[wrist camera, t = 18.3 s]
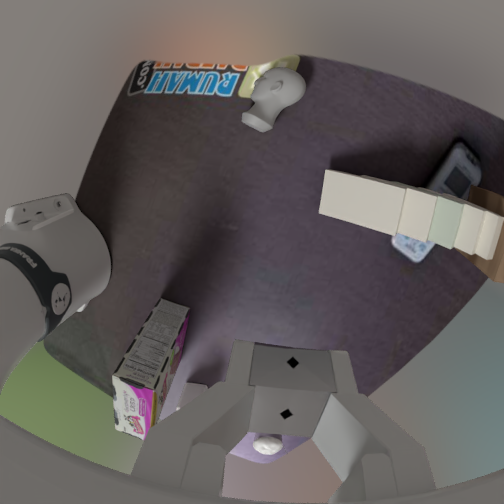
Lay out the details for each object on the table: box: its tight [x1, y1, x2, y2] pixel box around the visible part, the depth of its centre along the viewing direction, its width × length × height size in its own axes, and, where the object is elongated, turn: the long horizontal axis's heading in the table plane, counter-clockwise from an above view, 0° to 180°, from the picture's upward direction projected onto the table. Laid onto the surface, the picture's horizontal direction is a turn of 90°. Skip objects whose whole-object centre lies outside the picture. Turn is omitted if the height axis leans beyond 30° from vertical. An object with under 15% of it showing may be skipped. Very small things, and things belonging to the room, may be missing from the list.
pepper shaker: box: [176, 383, 208, 410], centre depth 44 cm, size 4×4×10 cm
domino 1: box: [319, 169, 407, 236], centre depth 32 cm, size 2×5×9 cm
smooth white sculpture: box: [242, 67, 306, 132], centre depth 30 cm, size 4×8×5 cm
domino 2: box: [361, 175, 439, 243], centre depth 31 cm, size 2×5×9 cm
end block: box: [455, 185, 504, 283], centre depth 29 cm, size 4×9×10 cm, turn 174°
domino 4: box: [418, 187, 487, 255], centre depth 30 cm, size 2×5×9 cm
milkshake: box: [253, 433, 287, 455], centre depth 44 cm, size 5×5×10 cm
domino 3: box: [391, 181, 465, 249], centre depth 31 cm, size 2×5×9 cm
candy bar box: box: [112, 298, 190, 440], centre depth 37 cm, size 11×5×16 cm, turn 165°
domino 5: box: [443, 193, 504, 260], centre depth 30 cm, size 2×5×9 cm, turn 174°
